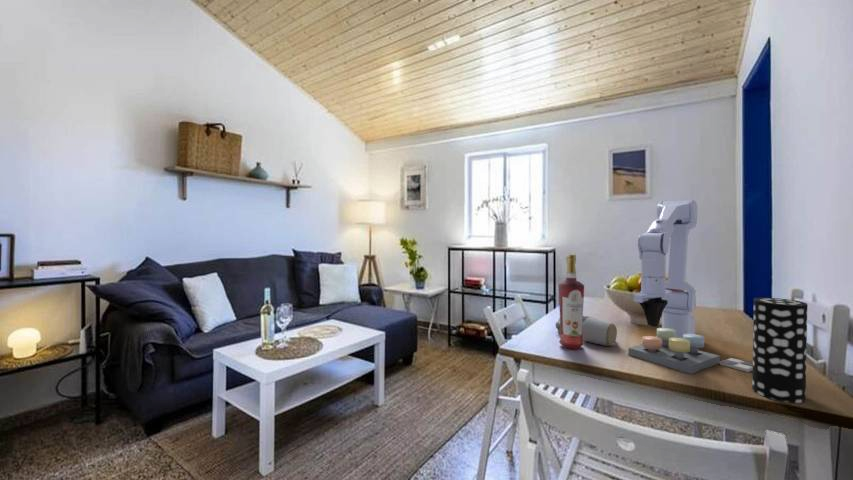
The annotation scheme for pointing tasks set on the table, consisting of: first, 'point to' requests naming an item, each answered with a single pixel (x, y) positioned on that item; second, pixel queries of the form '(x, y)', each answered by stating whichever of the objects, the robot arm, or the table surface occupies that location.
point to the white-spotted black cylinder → (780, 349)
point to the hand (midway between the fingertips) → (652, 325)
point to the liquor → (571, 307)
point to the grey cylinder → (599, 332)
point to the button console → (668, 359)
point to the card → (738, 364)
